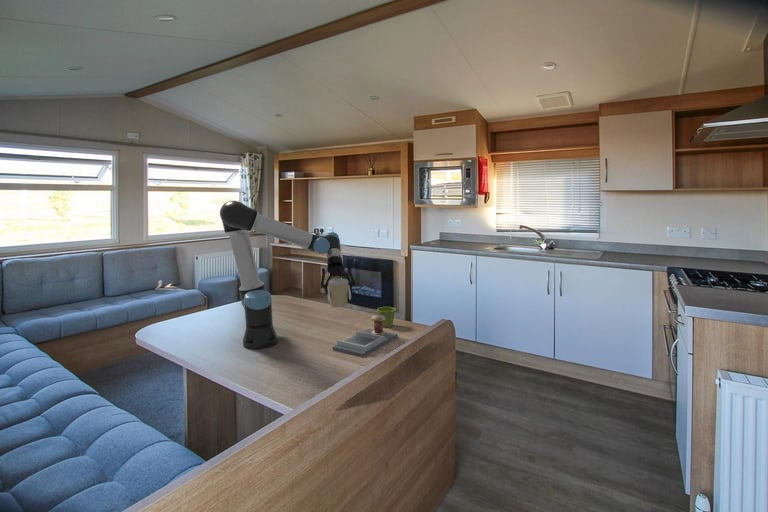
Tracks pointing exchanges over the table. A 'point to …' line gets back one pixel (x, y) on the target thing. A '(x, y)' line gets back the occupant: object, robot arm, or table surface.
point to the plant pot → (387, 315)
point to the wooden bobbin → (378, 325)
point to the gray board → (363, 343)
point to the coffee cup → (338, 292)
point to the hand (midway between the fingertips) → (339, 299)
